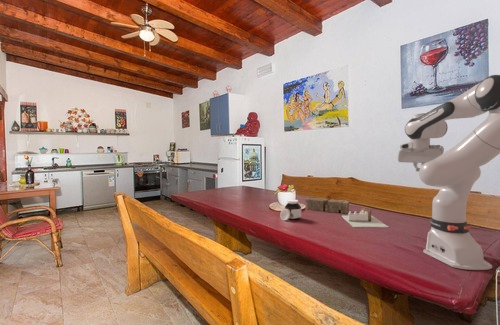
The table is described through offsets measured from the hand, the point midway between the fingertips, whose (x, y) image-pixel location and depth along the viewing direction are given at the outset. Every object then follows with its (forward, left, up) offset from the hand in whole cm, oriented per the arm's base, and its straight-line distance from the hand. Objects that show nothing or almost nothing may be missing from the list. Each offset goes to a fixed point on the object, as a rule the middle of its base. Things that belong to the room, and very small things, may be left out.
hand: (419, 171), depth 139 cm
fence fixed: (+20, +20, -31) cm, 42 cm away
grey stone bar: (+43, +38, -32) cm, 66 cm away
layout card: (+15, +23, -31) cm, 42 cm away
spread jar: (+20, +66, -31) cm, 76 cm away
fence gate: (+14, +27, -30) cm, 43 cm away
